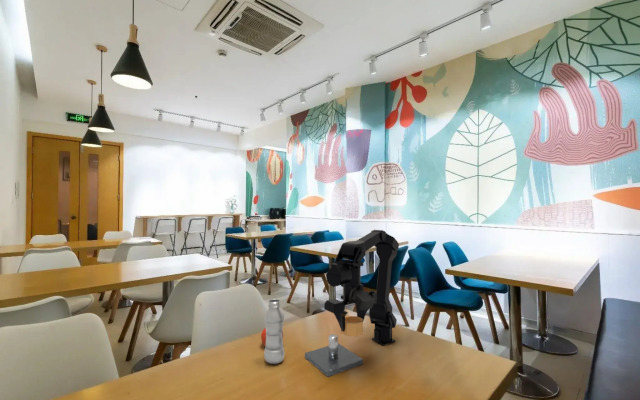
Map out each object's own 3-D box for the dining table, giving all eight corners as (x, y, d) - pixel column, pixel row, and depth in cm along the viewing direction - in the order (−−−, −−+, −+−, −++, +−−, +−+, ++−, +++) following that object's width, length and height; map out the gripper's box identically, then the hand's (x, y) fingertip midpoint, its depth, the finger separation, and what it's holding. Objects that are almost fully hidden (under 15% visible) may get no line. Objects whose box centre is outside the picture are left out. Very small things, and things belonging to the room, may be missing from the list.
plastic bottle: (280, 367, 94) (280, 304, 95) (260, 365, 96) (261, 303, 96) (286, 357, 101) (287, 298, 101) (268, 356, 102) (268, 297, 103)
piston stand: (338, 347, 108) (337, 325, 109) (363, 364, 97) (363, 339, 97) (304, 357, 101) (304, 333, 101) (327, 376, 89) (327, 350, 89)
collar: (353, 326, 102) (353, 314, 102) (367, 333, 96) (367, 320, 97) (337, 330, 98) (337, 318, 98) (350, 338, 93) (350, 325, 93)
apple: (286, 347, 109) (286, 325, 109) (266, 353, 104) (266, 330, 104) (277, 339, 115) (277, 318, 115) (257, 344, 111) (257, 323, 111)
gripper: (345, 290, 86) (345, 344, 86) (389, 282, 97) (389, 330, 96) (323, 282, 95) (323, 331, 95) (366, 276, 106) (366, 320, 105)
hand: (351, 328), depth 98 cm, fingers closed on collar, 7 cm apart
